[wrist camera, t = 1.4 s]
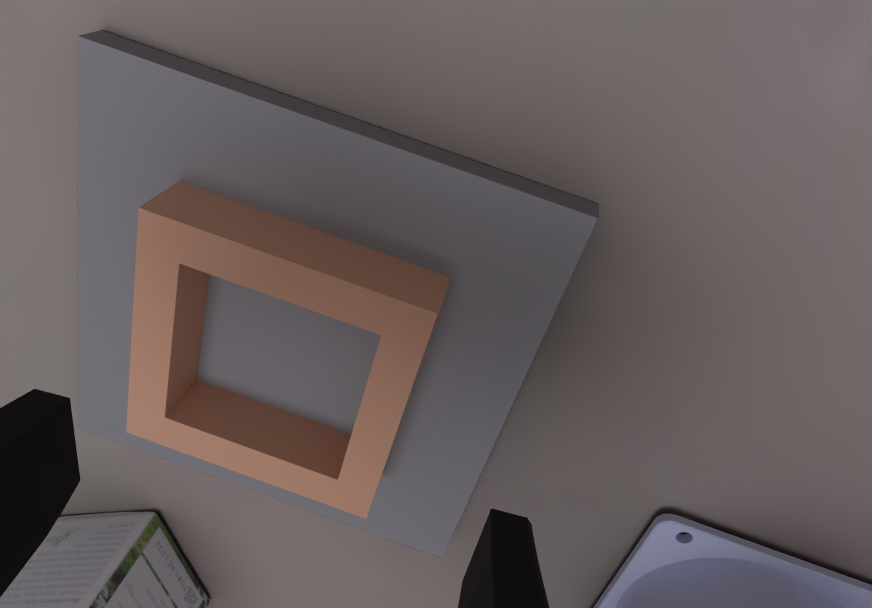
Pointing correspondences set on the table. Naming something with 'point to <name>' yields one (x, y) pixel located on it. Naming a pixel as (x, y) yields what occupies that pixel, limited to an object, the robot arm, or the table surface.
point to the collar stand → (303, 292)
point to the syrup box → (106, 566)
